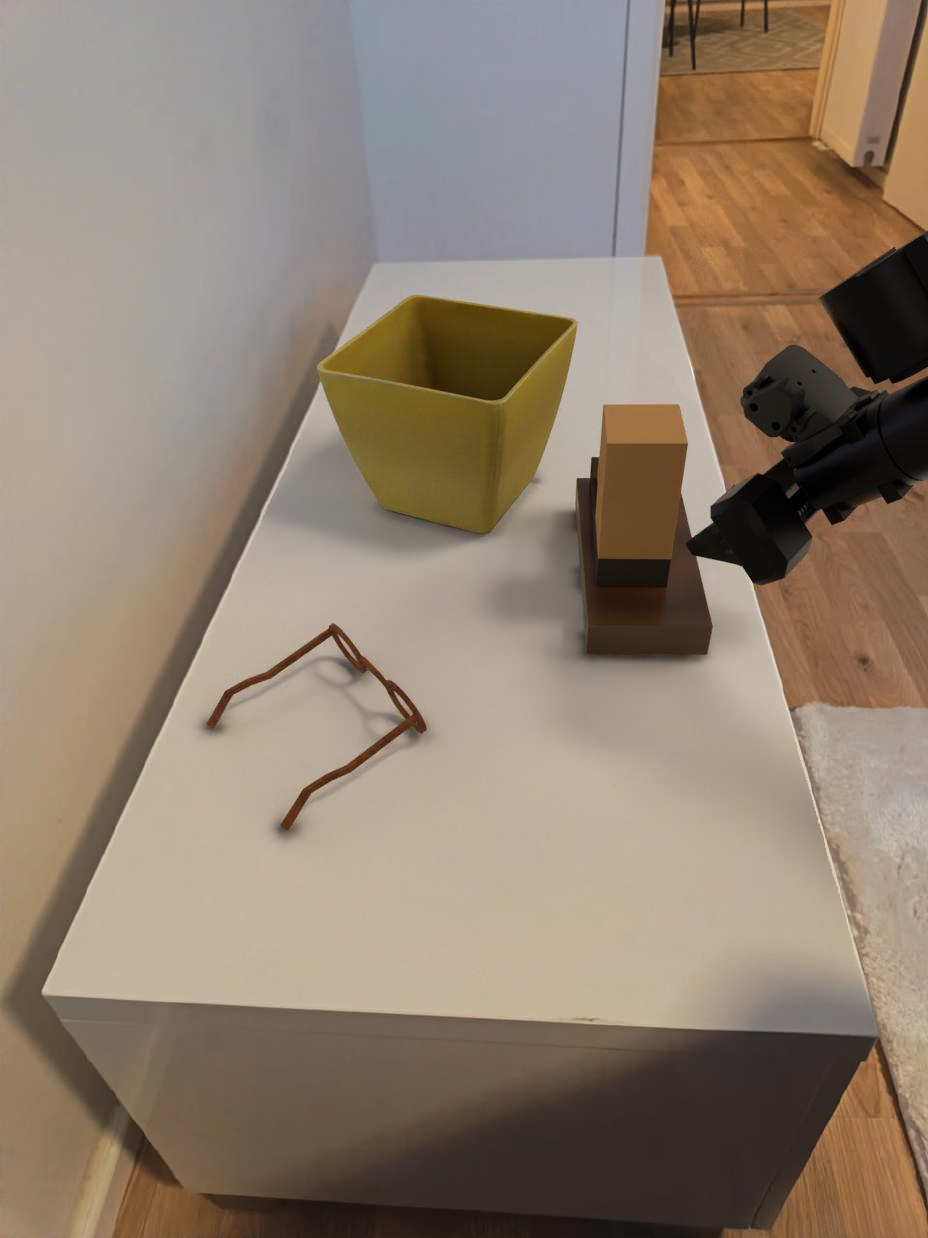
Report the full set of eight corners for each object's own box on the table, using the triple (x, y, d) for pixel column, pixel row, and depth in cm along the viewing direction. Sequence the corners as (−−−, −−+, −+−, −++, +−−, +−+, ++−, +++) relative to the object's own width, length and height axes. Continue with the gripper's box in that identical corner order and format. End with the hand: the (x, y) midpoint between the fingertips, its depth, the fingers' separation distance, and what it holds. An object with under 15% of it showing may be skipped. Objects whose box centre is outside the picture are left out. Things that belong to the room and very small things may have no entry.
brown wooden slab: (706, 662, 73) (713, 626, 70) (585, 661, 74) (588, 626, 71) (673, 509, 89) (677, 476, 86) (574, 510, 90) (576, 477, 87)
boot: (667, 587, 74) (688, 443, 65) (595, 586, 74) (606, 443, 65) (651, 483, 86) (667, 348, 76) (589, 482, 86) (598, 348, 77)
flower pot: (423, 431, 103) (411, 290, 92) (574, 464, 96) (581, 316, 85) (337, 518, 91) (311, 367, 79) (504, 563, 84) (501, 405, 73)
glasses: (432, 743, 68) (427, 699, 64) (284, 833, 62) (270, 790, 59) (343, 652, 76) (335, 609, 72) (205, 725, 70) (189, 682, 67)
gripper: (901, 274, 57) (726, 382, 71) (765, 384, 48) (591, 486, 61) (986, 416, 59) (799, 497, 72) (870, 552, 49) (677, 616, 62)
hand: (721, 519), depth 67 cm, fingers open, 9 cm apart
